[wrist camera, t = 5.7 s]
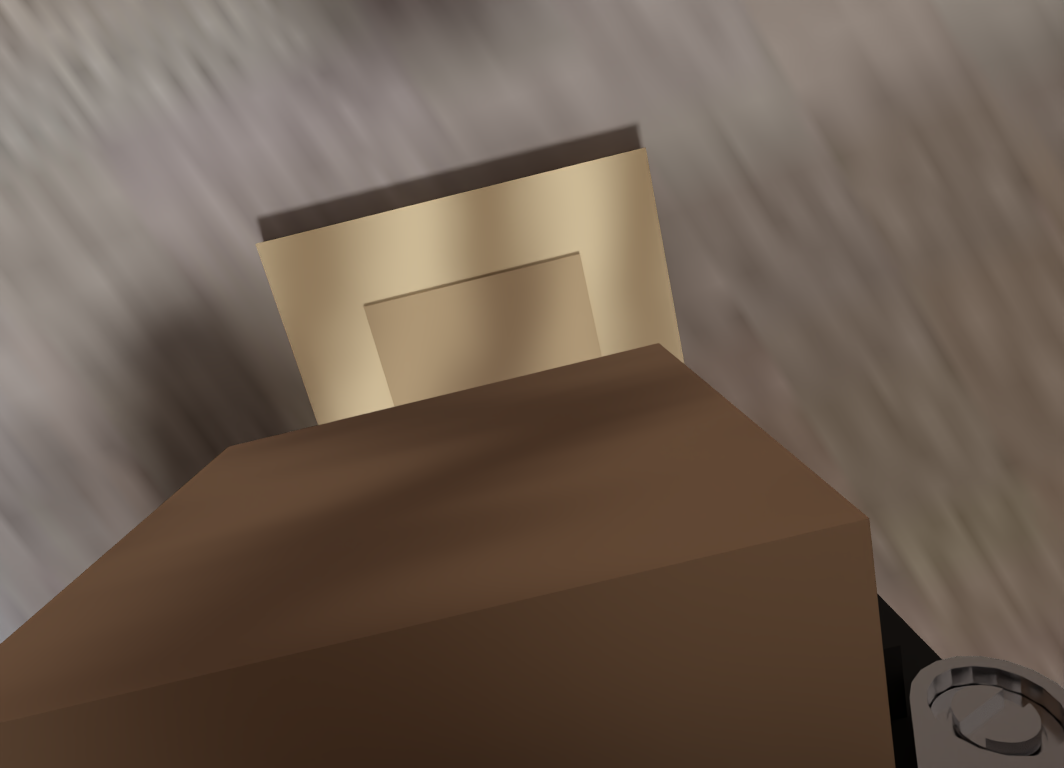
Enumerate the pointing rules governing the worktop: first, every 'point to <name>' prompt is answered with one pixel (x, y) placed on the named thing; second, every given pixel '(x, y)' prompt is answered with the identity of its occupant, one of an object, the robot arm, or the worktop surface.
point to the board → (475, 287)
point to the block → (475, 597)
